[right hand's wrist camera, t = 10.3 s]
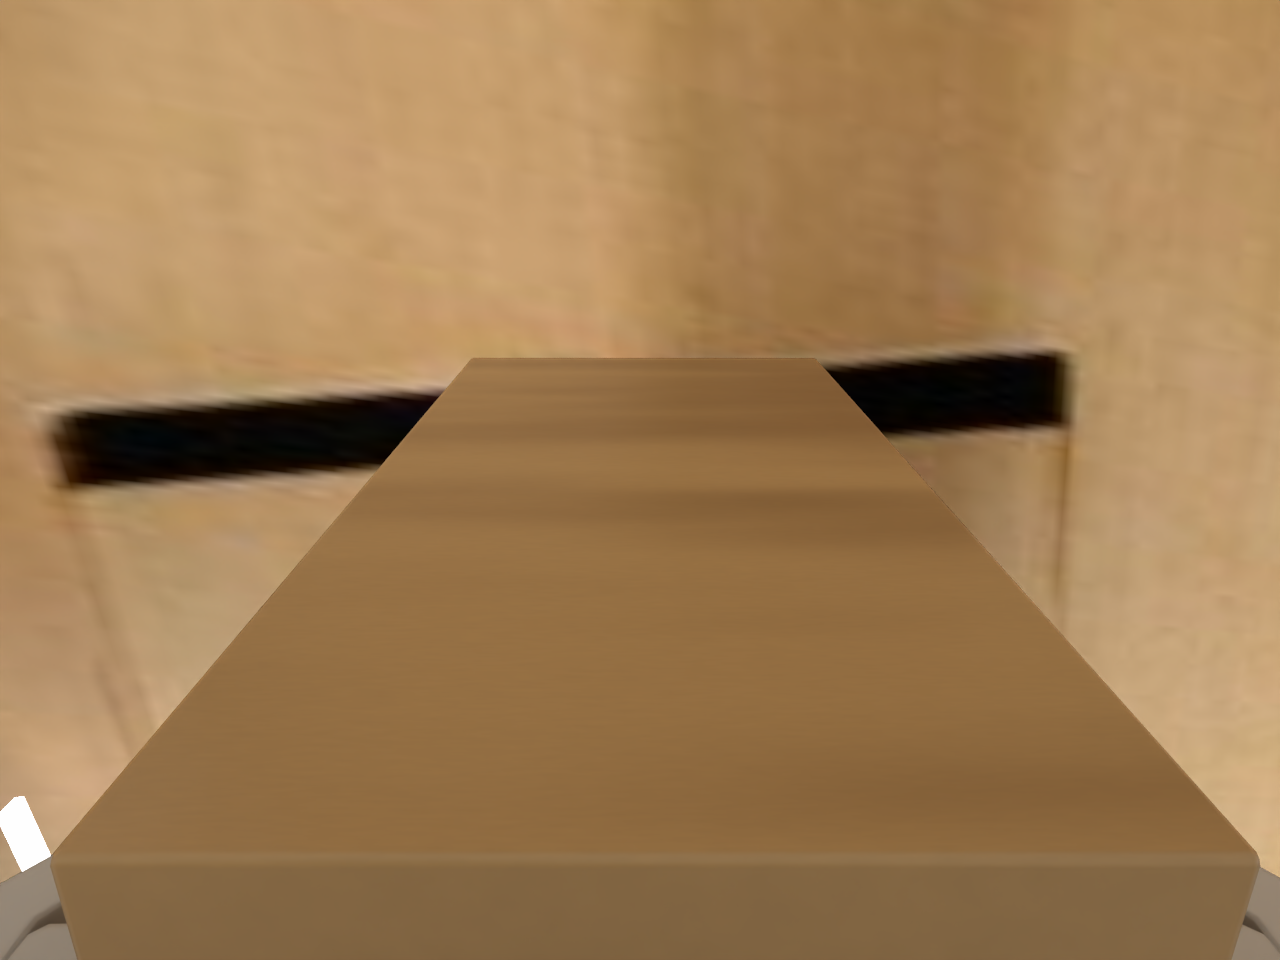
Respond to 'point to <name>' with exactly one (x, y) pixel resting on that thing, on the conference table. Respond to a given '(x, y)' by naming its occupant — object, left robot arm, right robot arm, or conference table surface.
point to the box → (651, 714)
